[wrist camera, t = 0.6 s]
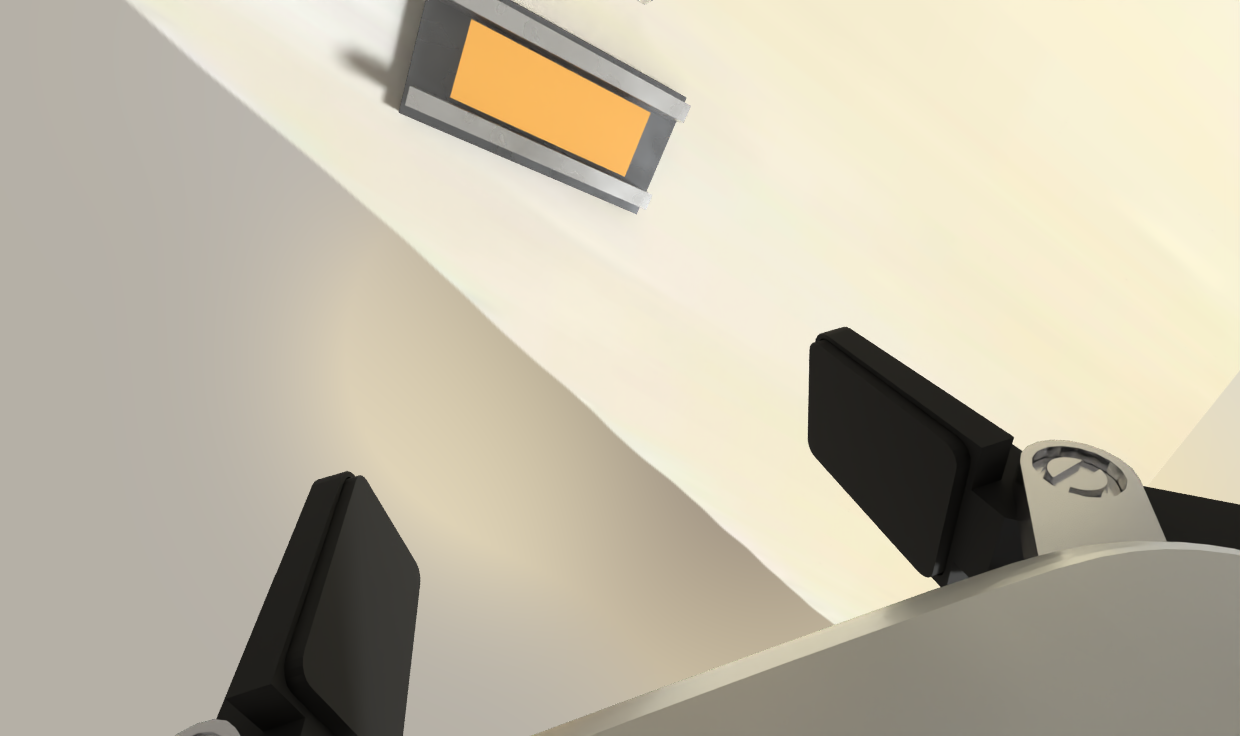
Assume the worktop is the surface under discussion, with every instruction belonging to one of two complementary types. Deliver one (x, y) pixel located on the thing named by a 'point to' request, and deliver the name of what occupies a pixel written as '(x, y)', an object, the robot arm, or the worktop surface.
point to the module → (644, 1)
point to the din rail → (431, 104)
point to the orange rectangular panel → (547, 100)
